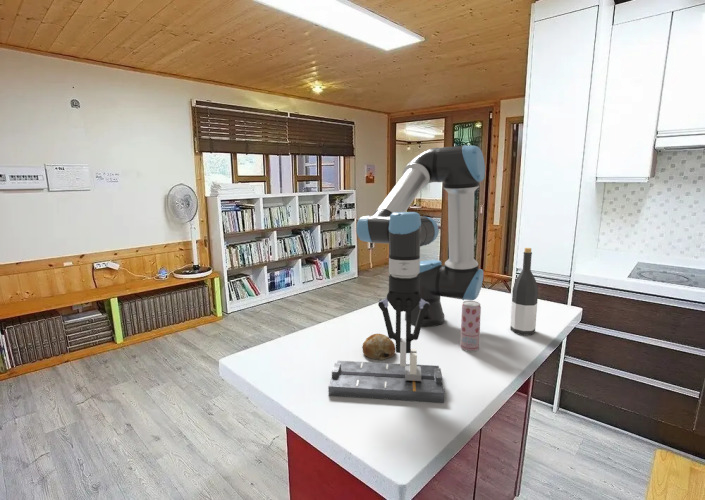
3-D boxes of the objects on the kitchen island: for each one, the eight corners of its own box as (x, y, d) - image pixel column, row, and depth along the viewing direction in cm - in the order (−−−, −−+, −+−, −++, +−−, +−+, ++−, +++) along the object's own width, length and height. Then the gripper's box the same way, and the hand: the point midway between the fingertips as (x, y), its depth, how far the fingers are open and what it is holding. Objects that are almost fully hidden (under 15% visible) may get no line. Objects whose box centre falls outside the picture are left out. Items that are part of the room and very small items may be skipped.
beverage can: (459, 350, 117) (461, 304, 115) (461, 343, 122) (462, 299, 120) (478, 353, 115) (480, 306, 113) (479, 346, 120) (481, 301, 118)
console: (328, 395, 92) (328, 380, 92) (338, 368, 106) (337, 355, 105) (444, 402, 88) (444, 387, 88) (438, 374, 102) (438, 360, 102)
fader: (405, 380, 94) (405, 355, 93) (405, 370, 99) (405, 347, 97) (421, 381, 93) (421, 356, 92) (420, 371, 98) (420, 347, 97)
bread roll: (369, 372, 112) (375, 353, 107) (354, 347, 119) (359, 328, 115) (396, 364, 116) (403, 346, 112) (381, 341, 123) (386, 323, 119)
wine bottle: (523, 337, 127) (529, 250, 123) (505, 329, 135) (510, 247, 130) (540, 333, 130) (546, 248, 126) (521, 325, 138) (526, 245, 133)
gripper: (376, 277, 89) (376, 369, 93) (432, 278, 87) (429, 372, 91) (378, 271, 97) (378, 356, 100) (429, 272, 95) (427, 358, 99)
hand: (402, 364), depth 96 cm, fingers closed
